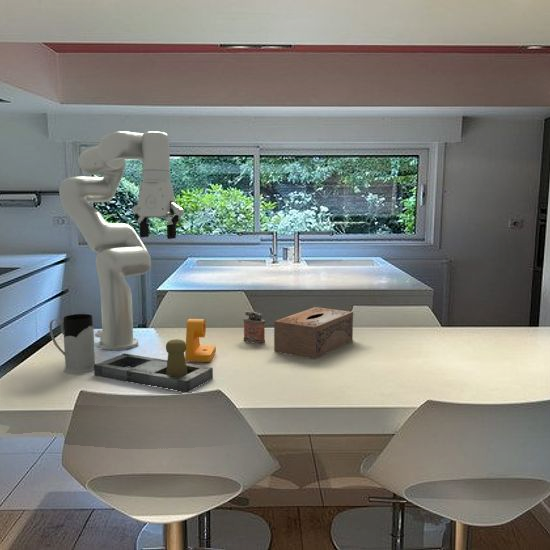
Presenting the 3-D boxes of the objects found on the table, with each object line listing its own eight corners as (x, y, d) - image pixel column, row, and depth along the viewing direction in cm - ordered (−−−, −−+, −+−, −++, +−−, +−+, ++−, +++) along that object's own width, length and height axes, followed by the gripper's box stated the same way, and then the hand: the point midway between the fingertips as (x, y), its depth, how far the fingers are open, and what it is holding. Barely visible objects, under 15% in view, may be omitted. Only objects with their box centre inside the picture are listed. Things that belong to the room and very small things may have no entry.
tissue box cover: (314, 360, 163) (315, 327, 161) (274, 352, 171) (274, 321, 169) (352, 341, 184) (353, 311, 183) (314, 335, 192) (315, 307, 190)
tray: (94, 375, 148) (93, 364, 147) (124, 363, 158) (124, 353, 158) (186, 392, 135) (186, 381, 134) (212, 378, 145) (212, 367, 145)
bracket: (210, 364, 158) (209, 323, 156) (185, 363, 158) (184, 323, 157) (216, 353, 168) (215, 315, 167) (193, 353, 169) (192, 315, 167)
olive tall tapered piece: (177, 386, 139) (176, 344, 137) (160, 382, 142) (158, 341, 141) (193, 380, 144) (192, 339, 142) (176, 376, 147) (175, 336, 146)
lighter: (267, 342, 182) (267, 312, 180) (261, 344, 179) (261, 314, 178) (247, 338, 186) (247, 309, 185) (241, 340, 183) (241, 311, 182)
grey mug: (82, 376, 147) (80, 321, 145) (41, 370, 152) (37, 317, 150) (103, 366, 155) (101, 314, 153) (63, 361, 160) (60, 311, 158)
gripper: (123, 176, 155) (125, 237, 158) (173, 176, 147) (174, 240, 150) (141, 177, 162) (142, 235, 164) (189, 177, 154) (190, 238, 157)
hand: (157, 237), depth 157 cm, fingers open, 9 cm apart
